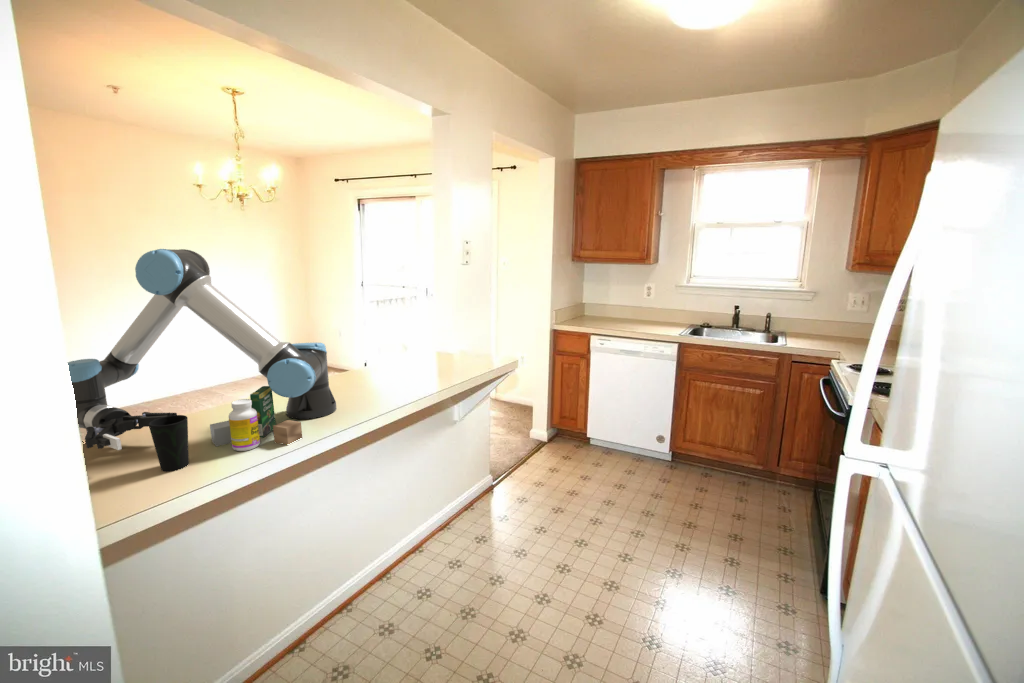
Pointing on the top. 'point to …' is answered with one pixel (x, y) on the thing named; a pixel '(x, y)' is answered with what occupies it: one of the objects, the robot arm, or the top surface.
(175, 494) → the top surface
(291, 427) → the walnut block
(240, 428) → the supplement bottle
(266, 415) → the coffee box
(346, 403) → the top surface
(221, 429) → the grey block
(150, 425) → the cup
